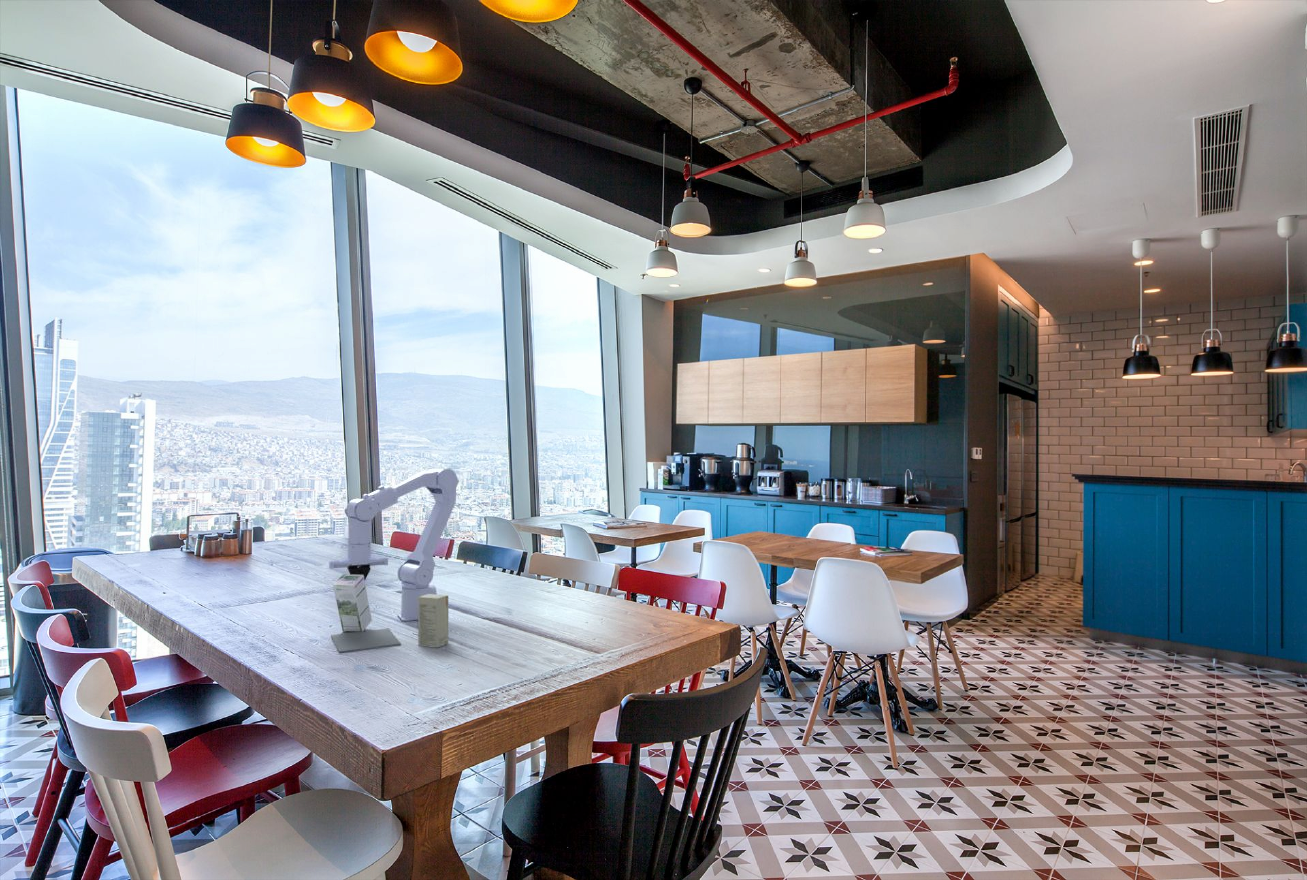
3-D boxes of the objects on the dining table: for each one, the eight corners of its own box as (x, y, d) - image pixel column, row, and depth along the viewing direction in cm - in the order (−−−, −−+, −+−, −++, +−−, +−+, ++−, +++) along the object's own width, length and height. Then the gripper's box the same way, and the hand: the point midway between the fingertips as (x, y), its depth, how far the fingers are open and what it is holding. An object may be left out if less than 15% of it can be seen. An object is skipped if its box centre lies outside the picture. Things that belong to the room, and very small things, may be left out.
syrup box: (372, 620, 180) (364, 573, 175) (362, 633, 174) (353, 584, 170) (352, 619, 180) (343, 572, 176) (341, 632, 175) (331, 584, 170)
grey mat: (388, 629, 178) (388, 628, 178) (400, 645, 164) (400, 643, 164) (331, 636, 170) (331, 635, 170) (339, 653, 157) (339, 651, 157)
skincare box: (449, 643, 166) (450, 595, 166) (438, 648, 162) (439, 598, 162) (427, 640, 168) (429, 592, 168) (416, 645, 164) (417, 596, 164)
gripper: (385, 540, 186) (384, 588, 186) (328, 542, 179) (326, 593, 178) (390, 543, 180) (388, 593, 180) (331, 546, 173) (329, 598, 172)
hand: (358, 593), depth 179 cm, fingers closed
